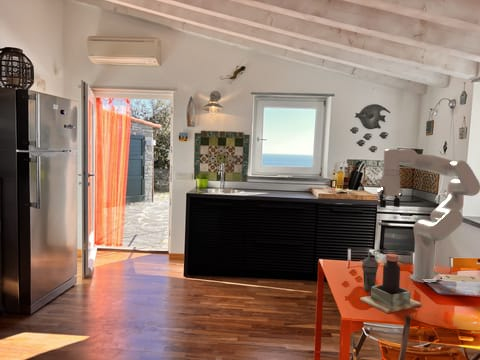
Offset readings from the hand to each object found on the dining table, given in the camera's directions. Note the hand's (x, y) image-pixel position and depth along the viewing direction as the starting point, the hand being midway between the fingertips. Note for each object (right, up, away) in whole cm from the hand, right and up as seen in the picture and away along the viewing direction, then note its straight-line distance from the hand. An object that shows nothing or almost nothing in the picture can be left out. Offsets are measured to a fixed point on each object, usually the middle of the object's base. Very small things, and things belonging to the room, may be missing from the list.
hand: (389, 207), depth 186 cm
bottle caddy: (-11, -40, -27) cm, 49 cm away
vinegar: (-11, -39, -27) cm, 49 cm away
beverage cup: (-14, -39, -11) cm, 43 cm away
